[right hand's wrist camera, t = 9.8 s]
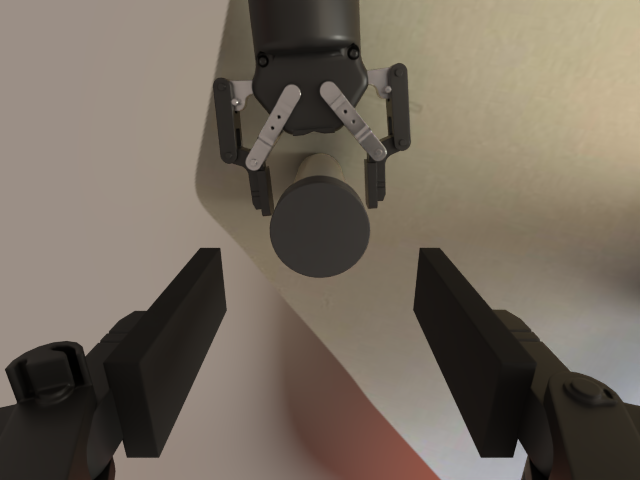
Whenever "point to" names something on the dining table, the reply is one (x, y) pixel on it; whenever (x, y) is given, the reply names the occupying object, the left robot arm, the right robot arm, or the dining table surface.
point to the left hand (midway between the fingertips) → (320, 209)
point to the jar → (319, 167)
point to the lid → (319, 227)
